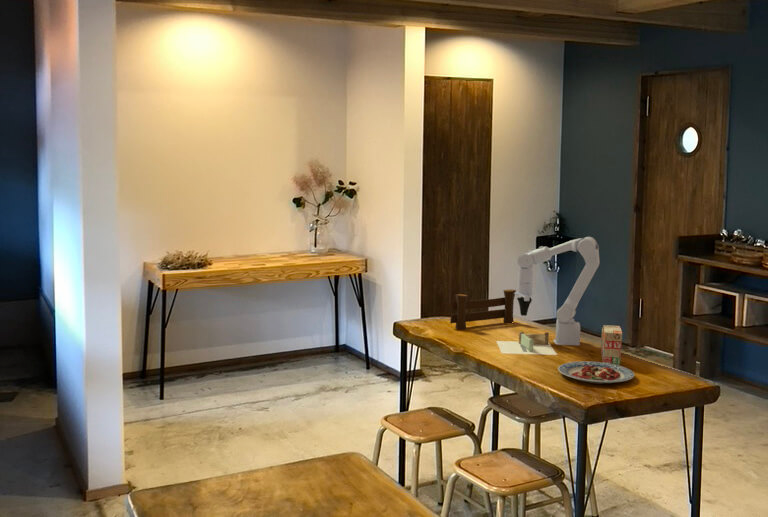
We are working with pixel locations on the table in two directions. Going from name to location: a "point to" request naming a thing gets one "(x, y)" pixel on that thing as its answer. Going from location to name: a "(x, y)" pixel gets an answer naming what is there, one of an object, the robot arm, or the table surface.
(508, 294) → the decorative fence
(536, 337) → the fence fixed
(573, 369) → the ceramic plate
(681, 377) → the table surface
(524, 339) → the pale green bar
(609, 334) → the stack of blocks
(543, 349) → the card
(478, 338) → the table surface
